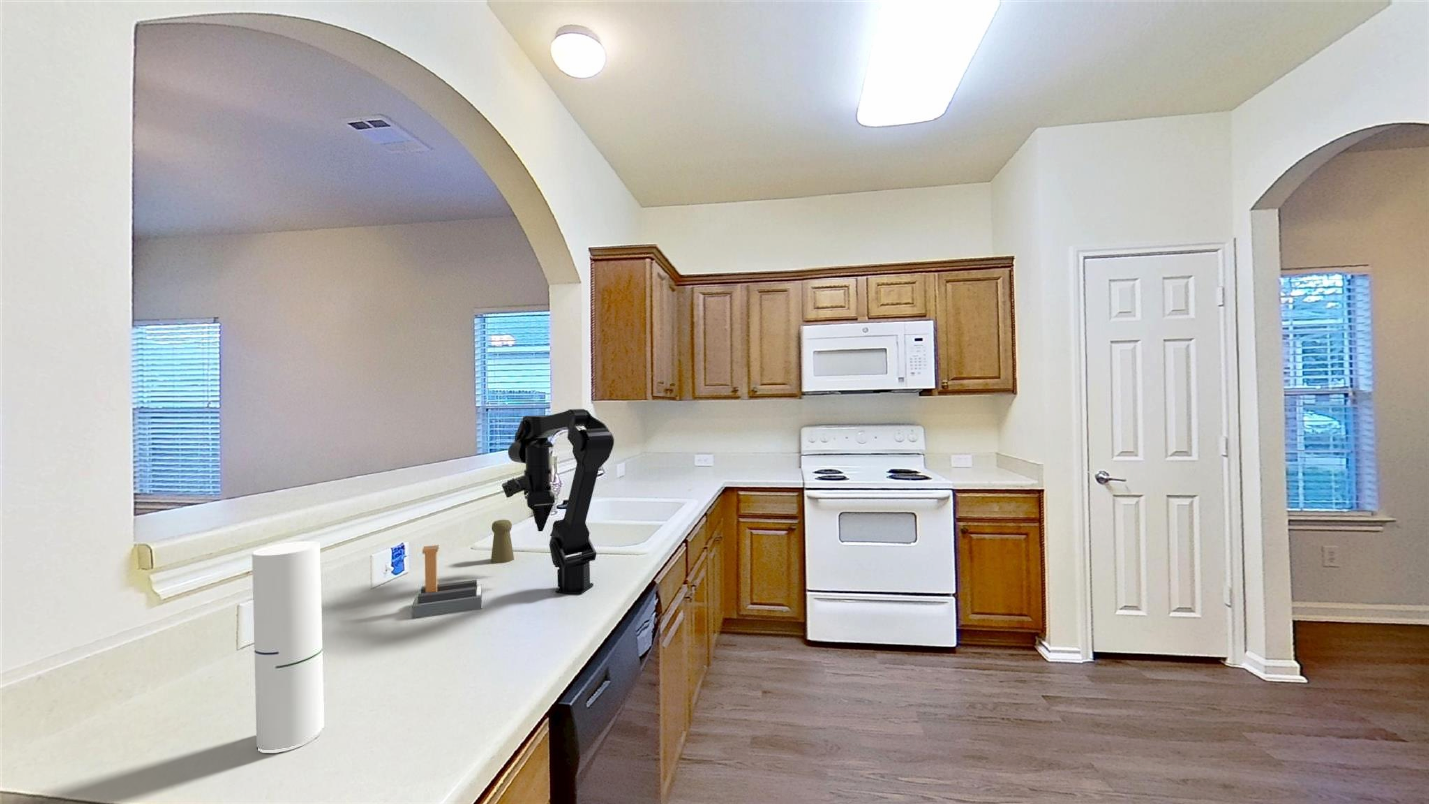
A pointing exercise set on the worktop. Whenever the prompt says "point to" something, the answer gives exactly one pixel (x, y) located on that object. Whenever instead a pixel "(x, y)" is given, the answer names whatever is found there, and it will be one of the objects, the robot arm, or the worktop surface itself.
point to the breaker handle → (430, 567)
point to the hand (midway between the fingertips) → (539, 527)
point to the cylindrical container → (287, 644)
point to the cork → (502, 542)
